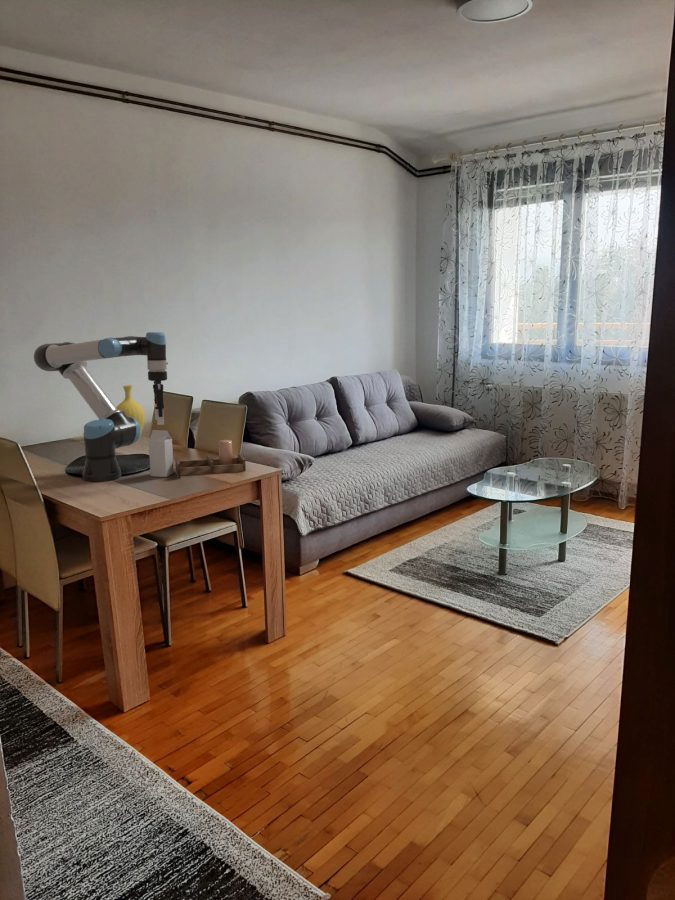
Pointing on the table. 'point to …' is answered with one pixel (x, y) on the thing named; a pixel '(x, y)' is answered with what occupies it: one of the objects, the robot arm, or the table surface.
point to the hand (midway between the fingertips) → (159, 422)
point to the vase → (132, 408)
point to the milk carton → (160, 454)
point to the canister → (225, 452)
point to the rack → (208, 466)
